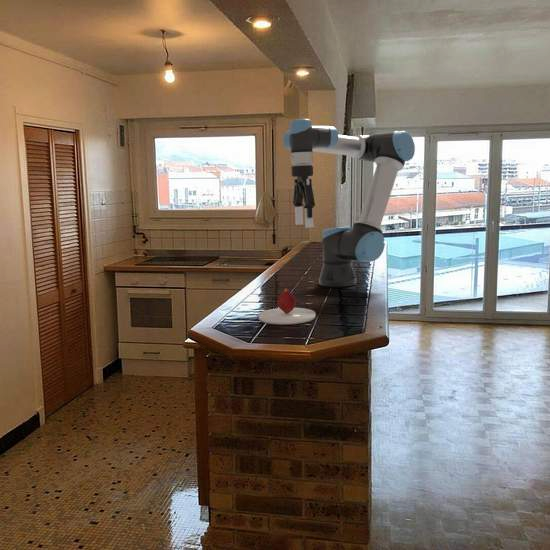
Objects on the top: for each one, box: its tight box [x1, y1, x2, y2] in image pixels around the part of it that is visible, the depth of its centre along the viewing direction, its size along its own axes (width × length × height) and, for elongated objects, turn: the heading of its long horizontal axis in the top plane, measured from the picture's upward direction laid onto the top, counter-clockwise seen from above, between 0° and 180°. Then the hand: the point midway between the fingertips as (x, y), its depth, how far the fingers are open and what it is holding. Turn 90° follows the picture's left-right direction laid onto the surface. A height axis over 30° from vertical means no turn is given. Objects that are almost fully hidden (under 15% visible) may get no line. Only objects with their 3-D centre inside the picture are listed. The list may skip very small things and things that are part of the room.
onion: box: [277, 288, 297, 314], centre depth 187 cm, size 6×6×8 cm
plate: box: [258, 307, 317, 325], centre depth 188 cm, size 18×18×1 cm
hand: (304, 226), depth 210 cm, fingers open, 13 cm apart
